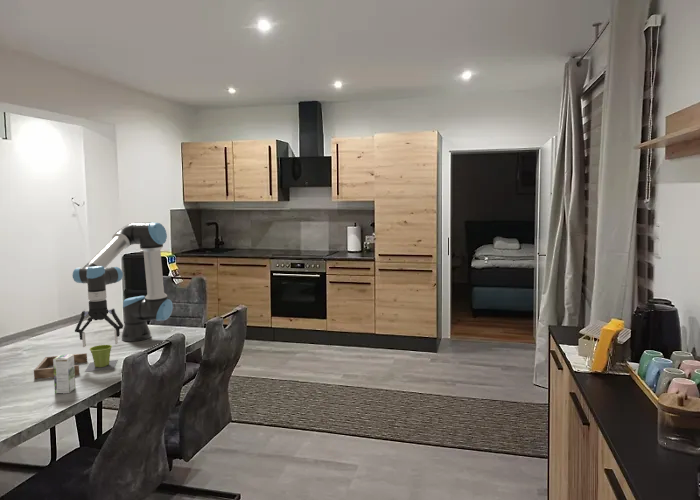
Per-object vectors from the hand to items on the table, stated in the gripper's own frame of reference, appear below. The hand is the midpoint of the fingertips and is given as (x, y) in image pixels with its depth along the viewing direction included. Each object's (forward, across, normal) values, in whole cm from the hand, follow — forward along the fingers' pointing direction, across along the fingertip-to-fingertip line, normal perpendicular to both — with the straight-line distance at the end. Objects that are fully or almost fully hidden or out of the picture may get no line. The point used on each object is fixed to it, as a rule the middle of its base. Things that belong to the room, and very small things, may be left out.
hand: (100, 345), depth 242 cm
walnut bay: (+10, -17, 0) cm, 19 cm away
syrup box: (+10, -9, -31) cm, 34 cm away
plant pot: (+10, 0, 0) cm, 10 cm away
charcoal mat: (+10, 0, 0) cm, 10 cm away
